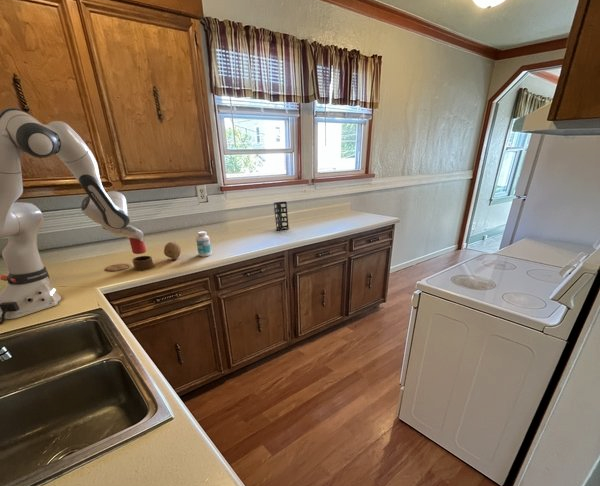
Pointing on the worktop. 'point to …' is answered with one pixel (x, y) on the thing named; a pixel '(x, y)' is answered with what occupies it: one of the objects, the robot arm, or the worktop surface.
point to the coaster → (117, 267)
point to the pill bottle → (203, 244)
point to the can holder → (143, 263)
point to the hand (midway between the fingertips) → (137, 239)
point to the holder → (279, 215)
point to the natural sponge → (172, 250)
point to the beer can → (137, 245)
